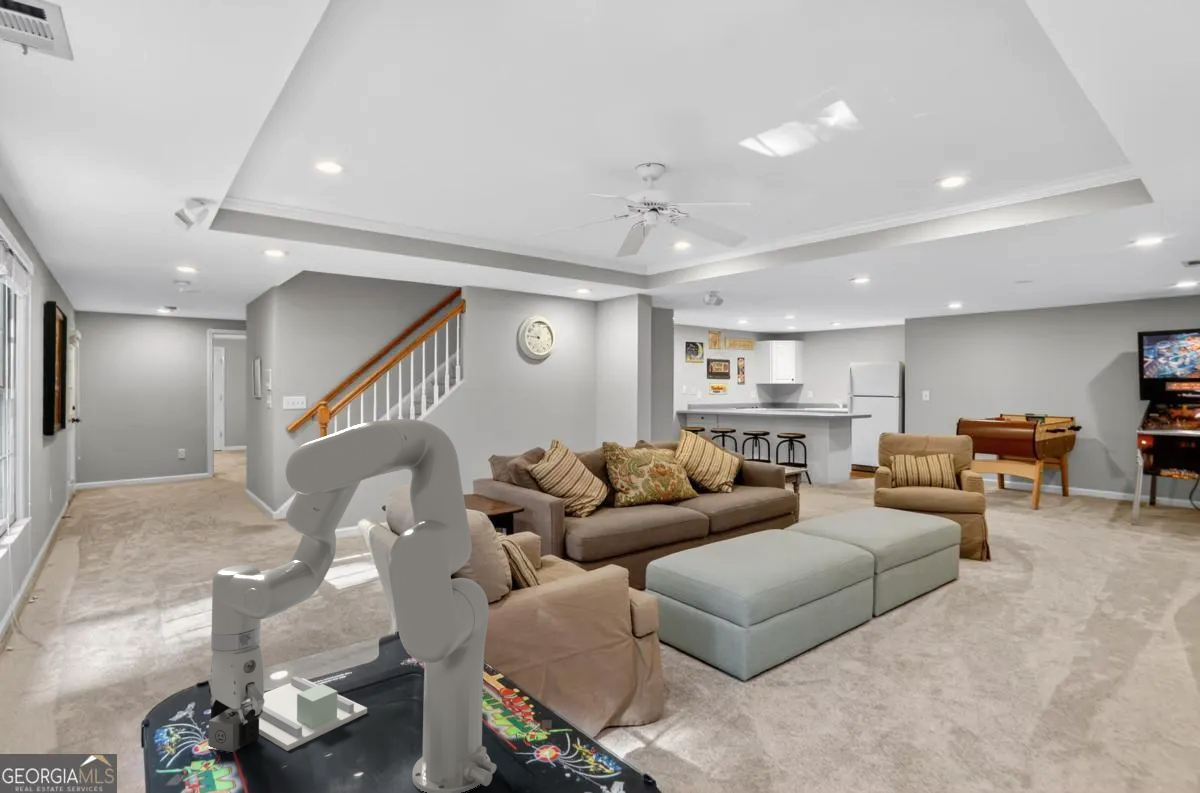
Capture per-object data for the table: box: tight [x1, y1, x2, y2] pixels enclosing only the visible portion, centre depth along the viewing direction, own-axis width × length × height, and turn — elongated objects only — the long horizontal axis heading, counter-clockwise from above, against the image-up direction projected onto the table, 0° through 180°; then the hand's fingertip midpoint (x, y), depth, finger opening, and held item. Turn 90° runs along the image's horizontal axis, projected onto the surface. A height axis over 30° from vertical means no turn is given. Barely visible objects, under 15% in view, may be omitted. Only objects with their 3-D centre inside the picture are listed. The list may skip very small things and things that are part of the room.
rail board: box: [242, 676, 368, 752], centre depth 121 cm, size 22×16×6 cm
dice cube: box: [207, 708, 250, 753], centre depth 110 cm, size 5×5×5 cm
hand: (234, 734), depth 110 cm, fingers open, 9 cm apart
